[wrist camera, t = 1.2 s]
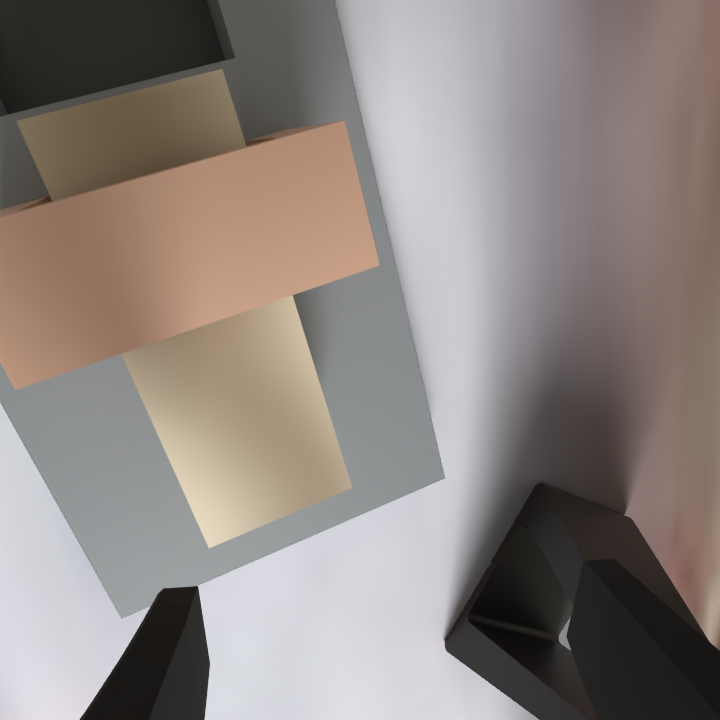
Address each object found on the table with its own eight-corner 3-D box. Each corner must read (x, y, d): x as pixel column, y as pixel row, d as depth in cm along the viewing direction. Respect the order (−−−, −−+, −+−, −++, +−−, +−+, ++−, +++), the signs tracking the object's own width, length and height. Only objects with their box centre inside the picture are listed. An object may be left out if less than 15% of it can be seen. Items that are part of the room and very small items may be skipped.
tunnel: (54, 318, 16) (14, 390, 11) (1, 209, 15) (-69, 237, 10) (316, 234, 18) (379, 265, 13) (286, 129, 17) (344, 120, 12)
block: (197, 473, 19) (209, 548, 15) (47, 128, 15) (15, 120, 11) (314, 426, 20) (352, 487, 16) (204, 87, 16) (222, 68, 12)
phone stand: (539, 479, 26) (807, 703, 16) (626, 514, 29) (908, 727, 18) (441, 643, 28) (628, 954, 17) (533, 663, 30) (745, 945, 20)
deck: (123, 579, 21) (121, 618, 20) (-230, -74, 14) (-287, -109, 12) (422, 453, 24) (445, 478, 22) (272, -161, 16) (287, -201, 14)
